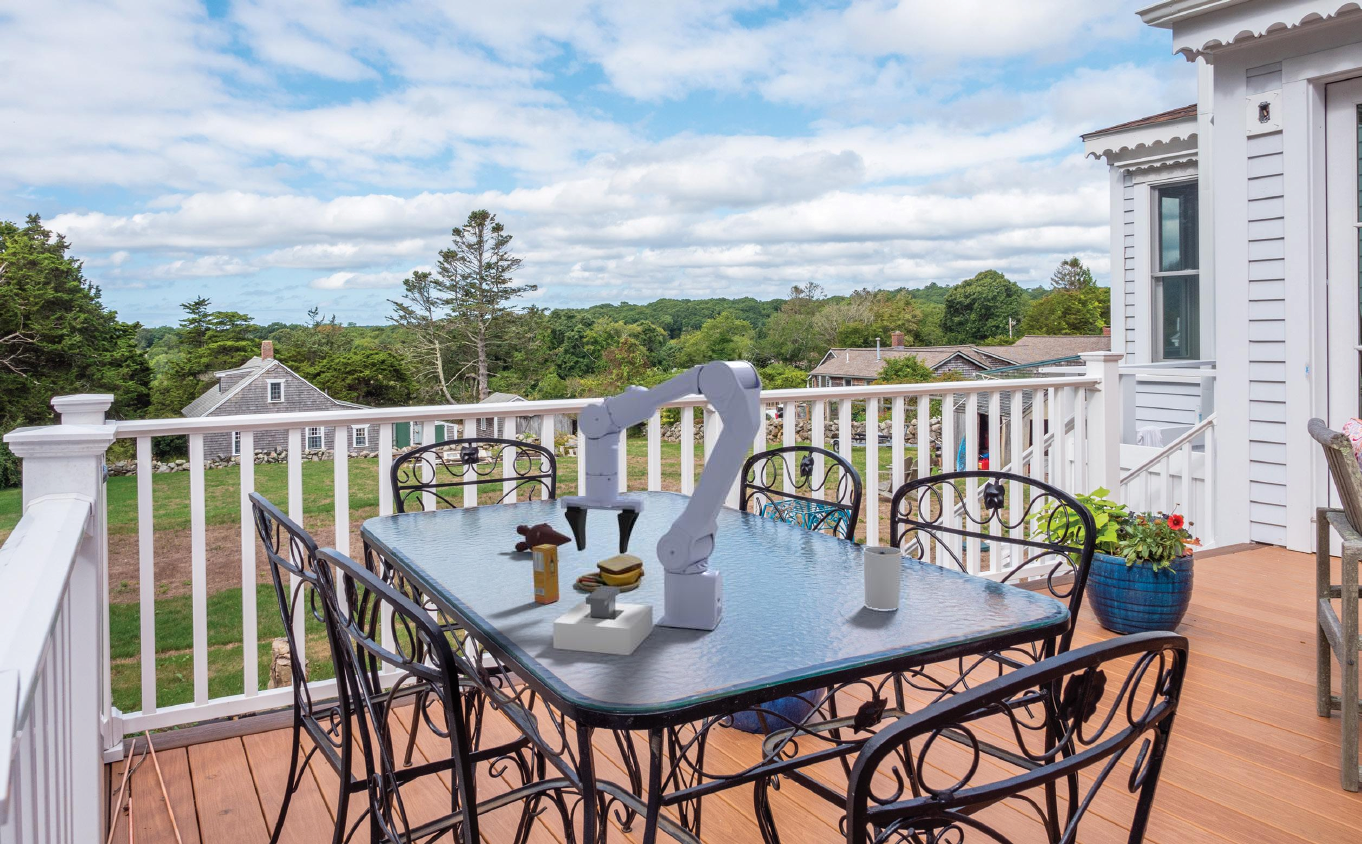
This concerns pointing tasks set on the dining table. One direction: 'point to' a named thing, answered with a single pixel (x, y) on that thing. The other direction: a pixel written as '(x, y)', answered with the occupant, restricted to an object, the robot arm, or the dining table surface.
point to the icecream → (539, 537)
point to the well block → (603, 629)
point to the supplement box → (545, 573)
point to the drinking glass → (882, 576)
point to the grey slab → (603, 602)
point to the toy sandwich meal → (614, 574)
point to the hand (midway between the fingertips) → (602, 551)
